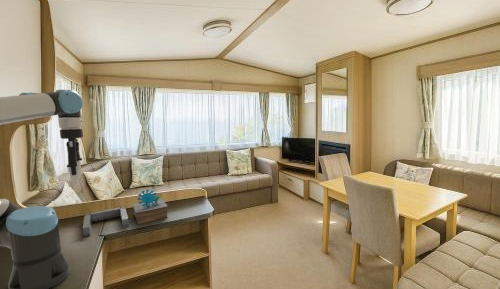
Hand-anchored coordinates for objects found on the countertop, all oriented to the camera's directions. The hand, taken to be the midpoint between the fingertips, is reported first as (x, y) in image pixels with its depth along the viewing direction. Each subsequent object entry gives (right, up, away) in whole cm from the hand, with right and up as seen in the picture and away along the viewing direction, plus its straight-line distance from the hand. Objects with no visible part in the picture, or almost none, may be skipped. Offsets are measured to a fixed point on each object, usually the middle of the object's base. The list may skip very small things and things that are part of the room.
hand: (76, 179), depth 102 cm
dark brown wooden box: (+20, -23, +26) cm, 40 cm away
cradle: (+2, -25, +17) cm, 30 cm away
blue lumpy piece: (+20, -17, +25) cm, 37 cm away
